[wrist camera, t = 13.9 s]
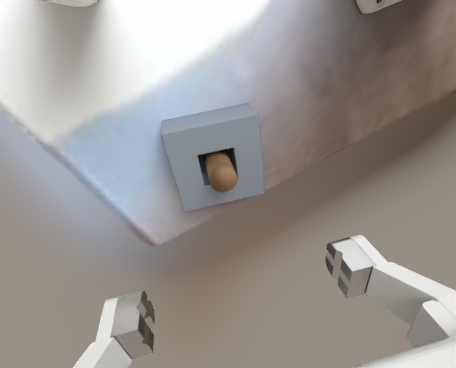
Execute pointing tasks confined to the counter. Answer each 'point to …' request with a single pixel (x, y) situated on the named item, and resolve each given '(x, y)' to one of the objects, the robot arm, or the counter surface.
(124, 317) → the robot arm
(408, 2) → the counter surface
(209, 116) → the socket block
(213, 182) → the walnut peg
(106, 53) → the counter surface
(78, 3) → the cylindrical container
